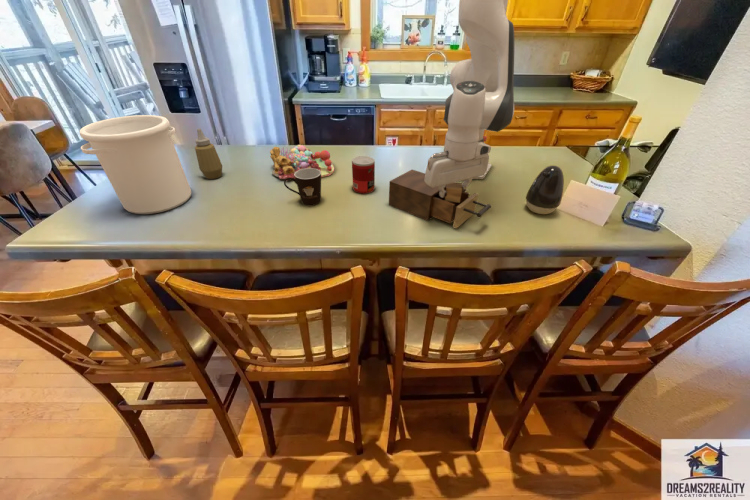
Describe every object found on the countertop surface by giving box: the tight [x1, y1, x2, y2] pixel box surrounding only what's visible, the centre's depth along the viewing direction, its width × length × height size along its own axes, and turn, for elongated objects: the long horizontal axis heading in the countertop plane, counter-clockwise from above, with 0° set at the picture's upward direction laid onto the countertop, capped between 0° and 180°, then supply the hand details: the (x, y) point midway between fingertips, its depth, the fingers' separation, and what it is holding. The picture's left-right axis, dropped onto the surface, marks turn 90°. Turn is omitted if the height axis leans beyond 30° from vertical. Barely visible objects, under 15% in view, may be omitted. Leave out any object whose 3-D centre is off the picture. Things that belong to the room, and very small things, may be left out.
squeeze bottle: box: [194, 128, 223, 180], centre depth 119 cm, size 8×8×18 cm
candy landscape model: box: [269, 144, 335, 182], centre depth 128 cm, size 25×24×9 cm
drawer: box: [430, 189, 492, 229], centre depth 98 cm, size 20×11×7 cm, turn 50°
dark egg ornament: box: [525, 165, 565, 215], centre depth 100 cm, size 10×10×15 cm
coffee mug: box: [283, 168, 322, 207], centre depth 106 cm, size 12×9×10 cm
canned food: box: [351, 155, 376, 195], centre depth 113 cm, size 8×8×11 cm
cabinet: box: [388, 169, 447, 221], centre depth 104 cm, size 16×13×9 cm
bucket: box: [79, 114, 192, 215], centre depth 101 cm, size 26×22×25 cm
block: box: [445, 182, 463, 203], centre depth 96 cm, size 4×4×4 cm
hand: (452, 193), depth 96 cm, fingers closed on block, 6 cm apart
